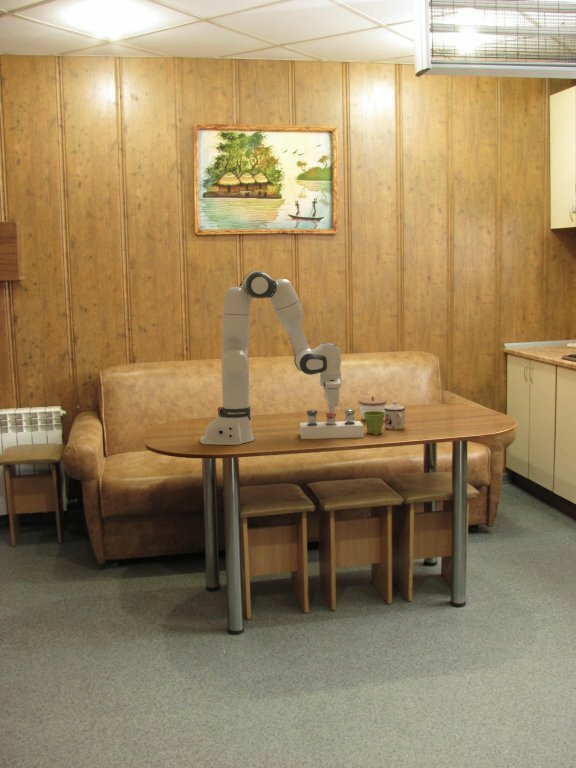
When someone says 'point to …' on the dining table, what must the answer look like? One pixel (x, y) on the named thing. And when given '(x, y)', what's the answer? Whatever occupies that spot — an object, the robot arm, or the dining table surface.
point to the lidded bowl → (372, 405)
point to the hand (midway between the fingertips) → (331, 413)
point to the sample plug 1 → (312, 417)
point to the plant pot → (374, 421)
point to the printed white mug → (394, 416)
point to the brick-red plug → (330, 418)
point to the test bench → (331, 430)
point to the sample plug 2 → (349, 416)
